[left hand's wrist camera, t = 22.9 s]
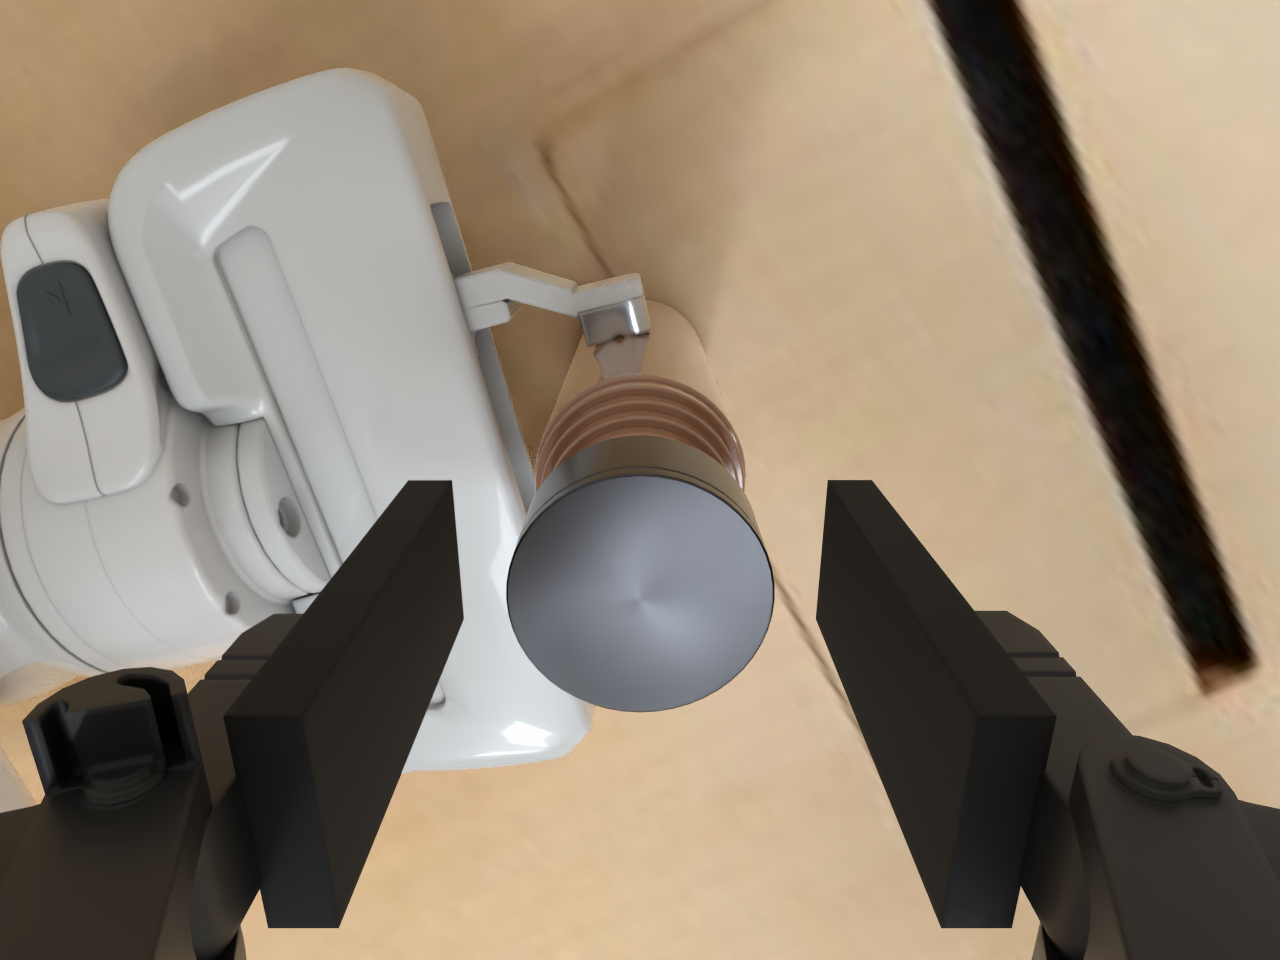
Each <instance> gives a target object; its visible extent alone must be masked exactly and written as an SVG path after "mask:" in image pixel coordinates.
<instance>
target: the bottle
mask: <svg viewBox="0 0 1280 960" xmlns="http://www.w3.org/2000/svg"><path fill="white" fill-rule="evenodd" d="M646 303H647V308H648V313H649V317H650V322H651V330H650V331H648V332H646V333H643V334H640V335H636V336H630V337H625V336H622V335H620V334H618V335H617V336H616V337H615V338H614V339H613V340H612V341H610V342H607V343H603V344H599V345H595V346H590V347H588V346H587V342H586V339H585V335H584V333H583V334H582V337H581V339H580V341H579V344H578V346H577V349H576V352H575V354H574V357H573V359H572V362H571V364H570V367H569V370H568V372H567V375H566V377H565V380H564V383H563V385H562V388H561V390H560V393H559V395H558V398H557V401H556V403H555V406H554V408H553V411H552V414H551V416H550V419H549V421H548V424H547V426H546V429H545V432H544V434H543V437H542V439H541V442H540V445H539V449H538V452H537V456H536V464H535V484H536V492H537V491H538V489H539V488H540V486H541V485H542V483H543V482H544V480H545V479H546V478H547V477H548V476H549V475H550V474H551V472H552V471H553V470H554V469H555V468H556V467H558V466H559V465H560V464H561V463H562V462H563V461H565V460H566V459H567V458H569V457H570V456H572V455H573V454H575V453H577V452H578V451H580V450H582V449H584V448H586V447H588V446H590V445H593V444H595V443H598V442H601V441H604V440H608V439H612V438H617V437H623V436H636V435H645V436H658V437H663V438H668V439H673V440H676V441H679V442H682V443H685V444H688V445H690V446H692V447H694V448H697V449H699V450H701V451H703V452H704V453H706V454H707V455H709V456H710V457H712V458H713V459H715V460H716V461H717V462H718V463H720V464H721V465H722V466H723V467H724V468H725V469H727V471H728V472H729V473H730V474H731V475H732V476H733V477H734V478H735V480H736V481H737V482H738V484H739V485H740V487H741V488H742V490H743V491H745V478H746V472H745V460H744V455H743V450H742V447H741V444H740V441H739V438H738V436H737V433H736V430H735V428H734V425H733V423H732V420H731V418H730V415H729V412H728V410H727V407H726V405H725V402H724V400H723V397H722V394H721V392H720V389H719V387H718V384H717V382H716V379H715V376H714V374H713V371H712V369H711V366H710V364H709V361H708V358H707V356H706V353H705V351H704V348H703V346H702V343H701V340H700V338H699V336H698V334H697V332H696V330H695V329H694V327H693V326H692V324H691V323H690V322H689V321H688V320H687V319H686V318H685V317H684V316H683V315H682V314H681V313H680V312H678V311H677V310H675V309H674V308H672V307H670V306H668V305H666V304H664V303H660V302H657V301H653V300H647V299H646Z"/></svg>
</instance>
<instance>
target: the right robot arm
mask: <svg viewBox="0 0 1280 960" xmlns="http://www.w3.org/2000/svg"><path fill="white" fill-rule="evenodd" d="M0 253H1V262H2V269H3V275H4V280H5V285H6V290H7V295H8V300H9V305H10V310H11V316H12V321H13V327H14V332H15V338H16V344H17V350H18V357H19V363H20V371H21V378H22V386H23V396H24V406H25V407H24V408H22V409H21V410H19V411H18V412H16V413H15V414H14V415H12V416H11V417H9V418H7V419H4V420H1V421H0V707H5V706H9V705H13V704H17V703H20V702H23V701H27V700H30V699H33V698H36V697H38V696H41V695H43V694H45V693H47V692H49V691H51V690H53V689H55V688H57V687H59V686H60V685H62V684H64V683H66V682H68V681H69V680H71V679H73V678H77V677H92V676H96V675H100V674H104V673H108V672H112V671H116V670H120V669H128V668H142V667H154V668H160V669H166V670H176V669H180V668H185V667H189V666H194V665H199V664H203V663H208V662H213V661H217V660H221V659H222V655H223V654H224V653H225V652H226V650H227V649H228V648H229V647H230V646H231V645H232V644H233V643H234V641H235V640H236V639H237V638H238V637H239V636H240V635H241V634H242V633H243V632H244V631H246V630H248V629H249V628H251V627H253V626H254V625H256V624H258V623H259V622H261V621H263V620H264V619H266V618H268V617H269V616H271V615H273V614H304V612H305V611H306V610H307V609H308V607H309V606H310V605H311V603H312V602H313V601H314V600H315V598H316V597H317V596H318V595H319V593H320V592H321V591H322V589H323V588H324V587H325V586H326V584H327V583H328V582H329V581H330V579H331V578H332V577H333V575H334V574H335V573H336V572H337V570H338V569H339V568H340V567H341V565H342V564H343V563H344V561H345V560H346V559H347V558H348V556H349V555H350V554H351V553H352V551H353V550H354V549H355V547H356V546H357V545H358V544H359V542H360V541H361V540H362V539H363V537H364V536H365V535H366V533H367V532H368V531H369V530H370V528H371V527H372V526H373V525H374V523H375V522H376V521H377V519H378V518H379V517H380V516H381V514H382V513H383V512H384V510H385V509H386V508H387V507H388V505H389V504H390V503H391V502H392V500H393V499H394V498H395V496H396V495H397V494H398V493H399V491H400V490H401V489H402V488H403V486H404V485H405V484H406V482H407V481H408V480H452V485H453V497H454V508H455V520H456V532H457V543H458V555H459V566H460V578H461V590H462V601H463V613H464V620H463V623H462V625H461V628H460V630H459V633H458V635H457V638H456V640H455V642H454V645H453V647H452V650H451V652H450V655H449V657H448V660H447V662H446V665H445V667H444V670H443V672H442V675H441V677H440V679H439V682H438V684H437V687H436V689H435V692H434V694H433V697H432V699H431V702H430V704H429V707H428V709H427V711H426V714H425V716H424V719H423V721H422V724H421V726H420V729H419V731H418V734H417V736H416V739H415V741H414V744H413V746H412V748H411V751H410V753H409V756H408V758H407V761H406V763H405V766H404V768H403V771H402V773H401V774H404V773H409V772H414V771H444V770H466V769H481V768H493V767H504V766H512V765H521V764H529V763H536V762H543V761H548V760H553V759H558V758H561V757H564V756H566V755H567V754H569V753H570V752H571V751H572V750H573V749H574V748H575V747H576V746H577V745H578V744H579V743H580V742H581V741H582V740H583V739H584V737H585V736H586V735H587V734H588V733H589V731H590V729H591V727H592V721H593V714H594V705H593V704H590V703H588V702H585V701H583V700H581V699H578V698H576V697H574V696H572V695H571V694H569V693H567V692H565V691H563V690H562V689H560V688H559V687H558V686H556V685H555V684H553V683H552V682H551V681H549V680H548V679H547V678H546V677H545V676H544V675H543V674H542V673H541V672H540V671H539V670H538V669H537V668H536V667H535V666H534V665H533V663H532V662H531V661H530V660H529V659H528V657H527V656H526V654H525V652H524V651H523V649H522V648H521V646H520V644H519V643H518V640H517V638H516V636H515V634H514V631H513V629H512V626H511V622H510V619H509V615H508V609H507V601H506V582H507V576H508V570H509V566H510V563H511V559H512V556H513V553H514V550H515V547H516V544H517V541H518V538H519V536H520V533H521V530H522V527H523V524H524V521H525V518H526V515H527V512H528V509H529V506H530V504H531V502H532V500H533V498H534V496H535V494H536V484H535V473H534V470H533V467H532V464H531V460H530V457H529V454H528V451H527V447H526V444H525V441H524V437H523V434H522V431H521V428H520V424H519V421H518V418H517V414H516V411H515V408H514V405H513V401H512V398H511V395H510V391H509V388H508V385H507V382H506V378H505V375H504V372H503V368H502V365H501V362H500V359H499V355H498V352H497V349H496V346H495V342H494V339H493V336H492V332H491V329H490V327H491V326H495V325H499V324H503V323H507V322H509V321H510V320H511V319H512V317H513V316H514V315H515V314H516V313H517V312H518V311H519V310H520V308H521V307H522V305H521V303H524V304H528V305H532V306H535V307H539V308H542V309H546V310H550V311H553V312H557V313H561V314H564V315H568V316H571V317H575V318H578V317H579V318H580V321H581V325H582V328H583V332H584V335H585V339H586V342H587V346H588V347H590V346H595V345H599V344H603V343H607V342H610V341H612V340H613V339H614V338H615V337H616V336H617V335H618V334H620V335H622V336H625V337H630V336H636V335H640V334H643V333H646V332H648V331H650V330H651V322H650V317H649V313H648V308H647V303H646V299H645V294H644V290H643V286H642V282H641V278H640V274H639V273H630V274H625V275H621V276H617V277H613V278H609V279H605V280H600V281H596V282H592V283H588V284H584V285H580V286H578V285H577V282H575V281H572V280H569V279H566V278H562V277H559V276H556V275H552V274H549V273H546V272H542V271H539V270H536V269H533V268H529V267H526V266H523V265H519V264H516V263H513V262H506V263H502V264H498V265H494V266H490V267H486V268H482V269H478V270H474V271H473V270H472V267H471V264H470V260H469V257H468V254H467V250H466V247H465V244H464V241H463V237H462V234H461V231H460V227H459V224H458V221H457V218H456V214H455V211H454V208H453V204H452V201H451V198H450V195H449V191H448V188H447V185H446V181H445V178H444V175H443V172H442V168H441V165H440V162H439V159H438V155H437V152H436V149H435V145H434V142H433V139H432V135H431V132H430V129H429V125H428V122H427V119H426V116H425V113H424V110H423V108H422V106H421V104H420V103H419V102H418V100H417V99H416V98H415V97H413V96H412V95H410V94H409V93H407V92H405V91H404V90H402V89H401V88H399V87H397V86H396V85H394V84H393V83H391V82H389V81H387V80H385V79H384V78H382V77H380V76H378V75H375V74H373V73H371V72H367V71H364V70H360V69H354V68H335V69H329V70H324V71H320V72H317V73H313V74H309V75H306V76H302V77H299V78H296V79H293V80H290V81H287V82H285V83H282V84H279V85H276V86H273V87H270V88H267V89H265V90H262V91H259V92H257V93H254V94H251V95H249V96H246V97H243V98H241V99H239V100H236V101H234V102H232V103H229V104H227V105H224V106H222V107H220V108H217V109H215V110H213V111H211V112H208V113H206V114H204V115H202V116H200V117H198V118H196V119H194V120H192V121H189V122H187V123H185V124H183V125H181V126H179V127H177V128H175V129H173V130H171V131H169V132H167V133H165V134H164V135H162V136H160V137H159V138H157V139H155V140H153V141H152V142H150V143H149V144H147V145H146V146H145V147H143V148H142V149H141V150H139V151H138V152H137V153H136V154H135V155H134V156H133V157H132V158H131V159H130V160H129V161H128V162H127V163H126V164H125V166H124V167H123V168H122V170H121V171H120V173H119V174H118V176H117V178H116V180H115V182H114V185H113V187H112V190H111V193H110V197H109V199H98V200H91V201H84V202H78V203H72V204H67V205H62V206H58V207H54V208H50V209H45V210H42V211H38V212H35V213H31V214H28V215H25V216H22V217H20V218H17V219H15V220H14V221H12V222H11V223H9V224H8V225H7V226H6V228H5V229H4V231H3V234H2V237H1V246H0ZM35 805H38V804H37V802H36V800H35V799H34V797H33V796H32V794H31V793H30V791H29V789H28V788H27V786H26V785H25V783H24V781H23V780H22V778H21V777H20V775H19V773H18V772H17V770H16V769H15V767H14V765H13V764H12V762H11V761H10V759H9V757H8V756H7V754H6V753H5V751H4V750H3V748H2V746H1V745H0V813H2V812H7V811H12V810H17V809H21V808H26V807H31V806H35Z"/></svg>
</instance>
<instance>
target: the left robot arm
mask: <svg viewBox="0 0 1280 960" xmlns="http://www.w3.org/2000/svg"><path fill="white" fill-rule="evenodd" d="M463 620H464V613H463V601H462V590H461V578H460V566H459V555H458V543H457V532H456V520H455V508H454V497H453V485H452V480H408V481H407V482H406V484H405V485H404V486H403V488H402V489H401V490H400V491H399V493H398V494H397V495H396V496H395V498H394V499H393V500H392V502H391V503H390V504H389V505H388V507H387V508H386V509H385V510H384V512H383V513H382V514H381V516H380V517H379V518H378V519H377V521H376V522H375V523H374V525H373V526H372V527H371V528H370V530H369V531H368V532H367V533H366V535H365V536H364V537H363V539H362V540H361V541H360V542H359V544H358V545H357V546H356V547H355V549H354V550H353V551H352V553H351V554H350V555H349V556H348V558H347V559H346V560H345V561H344V563H343V564H342V565H341V567H340V568H339V569H338V570H337V572H336V573H335V574H334V575H333V577H332V578H331V579H330V581H329V582H328V583H327V584H326V586H325V587H324V588H323V589H322V591H321V592H320V593H319V595H318V596H317V597H316V598H315V600H314V601H313V602H312V603H311V605H310V606H309V607H308V609H307V610H306V611H305V612H304V614H273V615H271V616H269V617H268V618H266V619H264V620H263V621H261V622H259V623H258V624H256V625H254V626H253V627H251V628H249V629H248V630H246V631H244V632H243V633H242V634H241V635H240V636H239V637H238V638H237V639H236V640H235V641H234V643H233V644H232V645H231V646H230V647H229V648H228V649H227V650H226V652H225V653H224V654H223V655H222V659H221V660H218V661H217V662H216V663H215V664H214V665H213V666H212V667H211V668H210V670H209V671H208V672H207V673H206V674H205V679H204V680H200V681H199V682H198V683H197V684H196V685H195V686H194V688H193V689H192V690H191V691H190V692H189V693H188V694H187V691H186V686H185V682H184V679H183V678H181V677H180V676H178V675H177V674H176V673H174V672H173V671H171V670H166V669H160V668H154V667H142V668H128V669H120V670H116V671H112V672H108V673H104V674H100V675H96V676H92V677H90V678H87V679H85V680H82V681H80V682H78V683H75V684H73V685H70V686H68V687H65V688H63V689H61V690H60V691H58V692H57V693H55V694H53V695H52V696H50V697H49V698H47V699H45V700H44V701H42V702H41V703H39V704H38V705H37V706H36V707H35V708H34V709H33V710H32V711H31V712H30V713H29V714H28V715H27V717H26V718H25V719H24V720H23V721H22V722H23V725H24V728H25V732H26V735H27V738H28V741H29V744H30V747H31V750H32V754H33V757H34V760H35V763H36V766H37V769H38V773H39V776H40V779H41V782H42V785H43V788H44V791H45V796H44V798H43V800H42V802H41V804H38V805H35V806H31V807H26V808H21V809H17V810H12V811H7V812H2V813H0V960H246V952H245V945H244V939H243V934H242V930H241V926H240V924H241V922H242V920H243V919H244V917H245V915H246V913H247V911H248V909H249V908H250V906H251V904H252V902H253V900H254V898H255V896H256V895H257V893H258V891H259V889H260V891H261V896H262V901H263V905H264V910H265V915H266V919H267V924H268V928H339V926H340V924H341V921H342V919H343V916H344V914H345V911H346V909H347V906H348V904H349V901H350V899H351V896H352V894H353V891H354V889H355V887H356V884H357V882H358V879H359V877H360V874H361V872H362V869H363V867H364V864H365V862H366V859H367V857H368V855H369V852H370V850H371V847H372V845H373V842H374V840H375V837H376V835H377V832H378V830H379V827H380V825H381V822H382V820H383V818H384V815H385V813H386V810H387V808H388V805H389V803H390V800H391V798H392V795H393V793H394V790H395V788H396V785H397V783H398V781H399V778H400V776H401V773H402V771H403V768H404V766H405V763H406V761H407V758H408V756H409V753H410V751H411V748H412V746H413V744H414V741H415V739H416V736H417V734H418V731H419V729H420V726H421V724H422V721H423V719H424V716H425V714H426V711H427V709H428V707H429V704H430V702H431V699H432V697H433V694H434V692H435V689H436V687H437V684H438V682H439V679H440V677H441V675H442V672H443V670H444V667H445V665H446V662H447V660H448V657H449V655H450V652H451V650H452V647H453V645H454V642H455V640H456V638H457V635H458V633H459V630H460V628H461V625H462V623H463ZM816 620H817V623H818V625H819V628H820V630H821V633H822V635H823V638H824V640H825V642H826V645H827V647H828V650H829V652H830V655H831V657H832V660H833V662H834V665H835V667H836V670H837V672H838V675H839V677H840V679H841V682H842V684H843V687H844V689H845V692H846V694H847V697H848V699H849V702H850V704H851V707H852V709H853V712H854V714H855V716H856V719H857V721H858V724H859V726H860V729H861V731H862V734H863V736H864V739H865V741H866V744H867V746H868V748H869V751H870V753H871V756H872V758H873V761H874V763H875V766H876V768H877V771H878V773H879V776H880V778H881V781H882V783H883V785H884V788H885V790H886V793H887V795H888V798H889V800H890V803H891V805H892V808H893V810H894V813H895V815H896V818H897V820H898V822H899V825H900V827H901V830H902V832H903V835H904V837H905V840H906V842H907V845H908V847H909V850H910V852H911V855H912V857H913V859H914V862H915V864H916V867H917V869H918V872H919V874H920V877H921V879H922V882H923V884H924V887H925V889H926V892H927V894H928V896H929V899H930V901H931V904H932V906H933V909H934V911H935V914H936V916H937V919H938V921H939V924H940V926H941V928H1012V924H1013V919H1014V915H1015V910H1016V905H1017V901H1018V896H1019V891H1020V887H1022V889H1023V890H1024V892H1025V894H1026V896H1027V898H1028V900H1029V901H1030V903H1031V905H1032V907H1033V909H1034V911H1035V912H1036V914H1037V916H1038V918H1039V920H1040V926H1039V930H1038V934H1037V939H1036V943H1035V948H1034V952H1033V956H1032V960H1280V809H1276V808H1272V807H1267V806H1262V805H1257V804H1252V803H1248V802H1245V801H1241V800H1238V799H1237V797H1236V795H1235V793H1234V792H1233V790H1232V789H1231V788H1230V787H1229V785H1228V784H1227V783H1226V782H1225V780H1224V779H1223V778H1222V776H1221V775H1220V774H1218V773H1217V772H1216V771H1214V770H1213V769H1212V768H1210V767H1209V766H1208V765H1206V764H1205V763H1203V762H1202V761H1201V760H1199V759H1198V758H1197V757H1194V756H1192V755H1190V754H1188V753H1186V752H1184V751H1182V750H1180V749H1178V748H1175V747H1173V746H1171V745H1169V744H1166V743H1163V742H1159V741H1155V740H1152V739H1148V738H1145V737H1141V736H1133V735H1132V734H1131V733H1130V732H1129V731H1128V730H1127V729H1126V727H1125V726H1124V725H1123V724H1122V723H1121V722H1120V721H1119V720H1118V718H1117V717H1116V716H1115V715H1114V714H1113V713H1112V712H1111V711H1110V710H1109V708H1108V707H1107V706H1106V705H1105V704H1104V703H1103V702H1102V701H1101V699H1100V698H1099V697H1098V696H1097V695H1096V694H1095V693H1094V692H1093V691H1092V689H1091V688H1090V687H1089V686H1088V685H1087V684H1086V683H1085V682H1084V680H1083V679H1082V678H1081V677H1076V672H1075V670H1074V669H1073V668H1072V667H1071V666H1070V665H1069V664H1068V663H1067V661H1066V660H1065V659H1064V658H1063V657H1059V653H1058V651H1057V650H1056V649H1055V648H1054V647H1053V646H1052V645H1051V644H1050V642H1049V641H1048V640H1047V639H1046V638H1045V637H1044V636H1043V635H1042V634H1041V632H1040V631H1039V630H1037V629H1036V628H1034V627H1032V626H1031V625H1029V624H1027V623H1026V622H1024V621H1022V620H1021V619H1019V618H1017V617H1016V616H1014V615H1012V614H1011V613H1009V612H1007V611H974V610H973V609H972V607H971V606H970V605H969V603H968V602H967V601H966V600H965V598H964V597H963V596H962V595H961V593H960V592H959V591H958V589H957V588H956V587H955V586H954V584H953V583H952V582H951V581H950V579H949V578H948V577H947V575H946V574H945V573H944V572H943V570H942V569H941V568H940V567H939V565H938V564H937V563H936V561H935V560H934V559H933V558H932V556H931V555H930V554H929V553H928V551H927V550H926V549H925V547H924V546H923V545H922V544H921V542H920V541H919V540H918V539H917V537H916V536H915V535H914V533H913V532H912V531H911V530H910V528H909V527H908V526H907V525H906V523H905V522H904V521H903V519H902V518H901V517H900V516H899V514H898V513H897V512H896V510H895V509H894V508H893V507H892V505H891V504H890V503H889V502H888V500H887V499H886V498H885V496H884V495H883V494H882V493H881V491H880V490H879V489H878V488H877V486H876V485H875V484H874V482H873V481H872V480H828V485H827V497H826V508H825V520H824V531H823V543H822V555H821V566H820V578H819V590H818V601H817V613H816Z"/></svg>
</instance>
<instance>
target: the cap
mask: <svg viewBox="0 0 1280 960" xmlns="http://www.w3.org/2000/svg"><path fill="white" fill-rule="evenodd" d="M506 601H507V609H508V615H509V619H510V622H511V626H512V629H513V631H514V634H515V636H516V638H517V640H518V643H519V644H520V646H521V648H522V649H523V651H524V652H525V654H526V656H527V657H528V659H529V660H530V661H531V662H532V663H533V665H534V666H535V667H536V668H537V669H538V670H539V671H540V672H541V673H542V674H543V675H544V676H545V677H546V678H547V679H548V680H549V681H551V682H552V683H553V684H555V685H556V686H558V687H559V688H560V689H562V690H563V691H565V692H567V693H569V694H571V695H572V696H574V697H576V698H578V699H581V700H583V701H585V702H588V703H590V704H593V705H597V706H600V707H604V708H607V709H613V710H619V711H628V712H653V711H661V710H668V709H673V708H677V707H680V706H684V705H687V704H690V703H693V702H695V701H698V700H700V699H702V698H705V697H706V696H708V695H710V694H712V693H714V692H716V691H717V690H719V689H720V688H722V687H723V686H724V685H726V684H727V683H729V682H730V681H731V680H732V679H733V678H734V677H736V676H737V675H738V674H739V673H740V672H741V671H742V670H743V669H744V668H745V667H746V665H747V664H748V663H749V662H750V661H751V659H752V658H753V657H754V655H755V653H756V652H757V650H758V649H759V647H760V646H761V644H762V642H763V639H764V637H765V635H766V633H767V631H768V628H769V624H770V621H771V617H772V613H773V606H774V578H773V572H772V567H771V564H770V560H769V557H768V554H767V551H766V548H765V545H764V542H763V539H762V537H761V534H760V531H759V528H758V525H757V522H756V519H755V516H754V513H753V511H752V508H751V505H750V503H749V501H748V499H747V497H746V495H745V493H744V491H743V490H742V488H741V487H740V485H739V484H738V482H737V481H736V480H735V478H734V477H733V476H732V475H731V474H730V473H729V472H728V471H727V469H725V468H724V467H723V466H722V465H721V464H720V463H718V462H717V461H716V460H715V459H713V458H712V457H710V456H709V455H707V454H706V453H704V452H703V451H701V450H699V449H697V448H694V447H692V446H690V445H688V444H685V443H682V442H679V441H676V440H673V439H668V438H663V437H658V436H645V435H636V436H623V437H617V438H612V439H608V440H604V441H601V442H598V443H595V444H593V445H590V446H588V447H586V448H584V449H582V450H580V451H578V452H577V453H575V454H573V455H572V456H570V457H569V458H567V459H566V460H565V461H563V462H562V463H561V464H560V465H559V466H558V467H556V468H555V469H554V470H553V471H552V472H551V474H550V475H549V476H548V477H547V478H546V479H545V480H544V482H543V483H542V485H541V486H540V488H539V489H538V491H537V492H536V494H535V496H534V498H533V500H532V502H531V504H530V506H529V509H528V512H527V515H526V518H525V521H524V524H523V527H522V530H521V533H520V536H519V538H518V541H517V544H516V547H515V550H514V553H513V556H512V559H511V563H510V566H509V570H508V576H507V582H506Z"/></svg>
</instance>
